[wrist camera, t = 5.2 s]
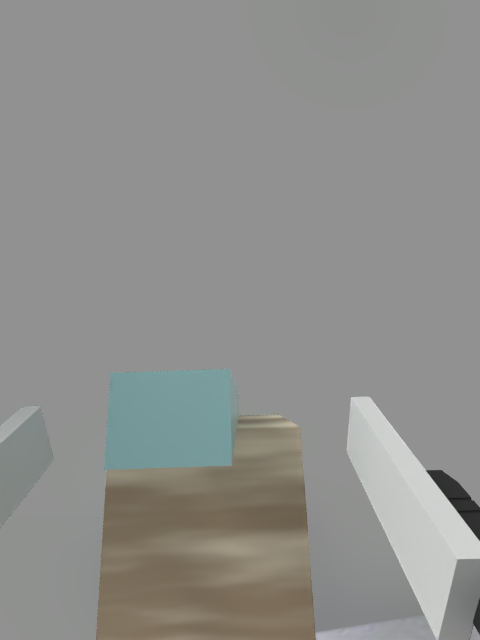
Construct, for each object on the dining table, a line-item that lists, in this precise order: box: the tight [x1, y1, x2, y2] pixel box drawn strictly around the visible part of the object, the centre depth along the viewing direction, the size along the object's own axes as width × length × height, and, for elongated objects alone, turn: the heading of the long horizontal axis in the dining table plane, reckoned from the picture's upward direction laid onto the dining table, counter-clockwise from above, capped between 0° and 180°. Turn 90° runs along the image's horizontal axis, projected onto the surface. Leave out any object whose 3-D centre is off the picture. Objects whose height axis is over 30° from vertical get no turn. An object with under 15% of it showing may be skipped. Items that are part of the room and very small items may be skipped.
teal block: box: [104, 369, 239, 470], centre depth 23 cm, size 26×4×3 cm, turn 0°
